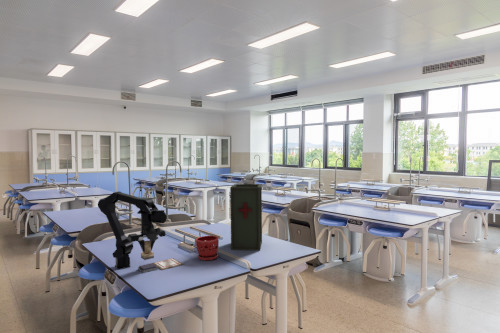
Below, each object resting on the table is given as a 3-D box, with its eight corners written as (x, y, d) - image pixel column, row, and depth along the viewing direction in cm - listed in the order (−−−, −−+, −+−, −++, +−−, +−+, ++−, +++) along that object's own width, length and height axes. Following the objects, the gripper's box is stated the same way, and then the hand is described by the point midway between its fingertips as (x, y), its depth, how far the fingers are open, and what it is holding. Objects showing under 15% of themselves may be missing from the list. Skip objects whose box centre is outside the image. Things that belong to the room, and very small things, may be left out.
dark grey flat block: (143, 272, 169) (142, 269, 169) (138, 269, 174) (137, 265, 174) (157, 269, 174) (157, 265, 174) (152, 265, 180) (152, 262, 179)
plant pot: (215, 253, 200) (215, 234, 200) (221, 260, 188) (221, 239, 188) (194, 256, 196) (193, 236, 195) (198, 263, 184) (198, 241, 183)
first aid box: (261, 242, 224) (261, 184, 222) (260, 250, 206) (259, 187, 204) (235, 241, 226) (234, 184, 224) (231, 249, 208) (230, 187, 206)
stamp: (144, 260, 171) (144, 243, 170) (141, 257, 174) (140, 241, 174) (153, 258, 174) (153, 241, 173) (150, 255, 178) (149, 239, 177)
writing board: (161, 270, 173) (161, 269, 173) (151, 263, 183) (151, 262, 183) (183, 264, 181) (183, 263, 181) (173, 258, 191) (173, 257, 191)
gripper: (134, 227, 161) (135, 258, 162) (169, 222, 173) (170, 251, 174) (126, 223, 170) (127, 253, 170) (161, 218, 182) (161, 246, 182)
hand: (147, 251), depth 174 cm, fingers closed on stamp, 4 cm apart
